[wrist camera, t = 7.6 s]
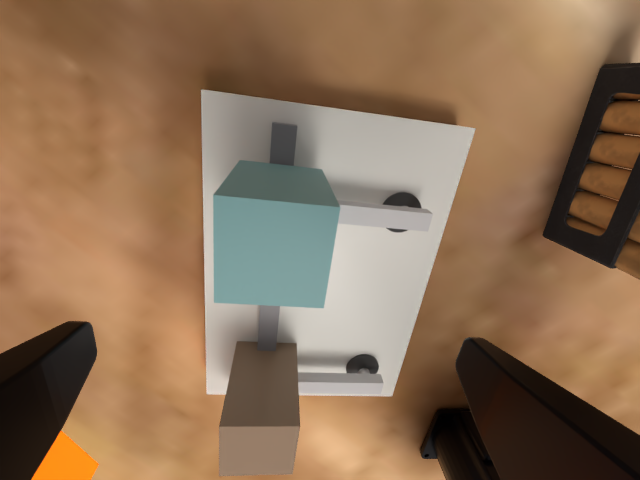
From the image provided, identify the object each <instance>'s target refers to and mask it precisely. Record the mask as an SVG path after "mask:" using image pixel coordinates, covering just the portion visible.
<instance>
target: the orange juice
mask: <svg viewBox="0 0 640 480" xmlns="http://www.w3.org/2000/svg"><path fill="white" fill-rule="evenodd" d="M98 465H99V464H98V463H97V462H95V461H94V460H93V459H92V458H91V457H90V456H89V455H88V454H87V453H85V452H84V451H83V450H82V449H81V448H80V447H79V446H78V445H76V444H75V443H74V442H73V441H72V440H71V439H70V438H69V437H68V436H66V435H65V434H64V433H63V432H62V431H60V433H59V435H58V436H57V438H56V440H55V442H54V443H53V445H52V447H51V448H50V450H49V452H48V453H47V455H46V456H45V458H44V460H43V461H42V463H41V465H40V466H39V468H38V470H37V471H36V473H35V474H34V476H33V478H32V479H31V480H91V478H92V476H93V474H94V472H95V470H96V469H97V467H98Z"/></svg>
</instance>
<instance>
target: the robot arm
mask: <svg viewBox="0 0 640 480" xmlns="http://www.w3.org/2000/svg"><path fill="white" fill-rule="evenodd" d="M96 356H97V347H96V342H95V337H94V332H93V327H92V325H91V324H90V323H89V322H83V321H68V322H65V323H63V324H61V325H59V326H57V327H55V328H53V329H51V330H49V331H47V332H45V333H43V334H40V335H38V336H36V337H34V338H32V339H30V340H28V341H26V342H24V343H22V344H20V345H18V346H16V347H13V348H11V349H9V350H7V351H5V352H3V353H1V354H0V480H31V479H32V478H33V476H34V474H35V473H36V471H37V470H38V468H39V466H40V465H41V463H42V461H43V460H44V458H45V456H46V455H47V453H48V452H49V450H50V448H51V447H52V445H53V443H54V442H55V440H56V438H57V436H58V435H59V433H60V431H61V429H62V428H63V426H64V424H65V422H66V420H67V418H68V416H69V414H70V412H71V410H72V408H73V406H74V403H75V401H76V399H77V397H78V395H79V393H80V391H81V389H82V387H83V385H84V383H85V381H86V379H87V377H88V375H89V373H90V371H91V368H92V366H93V364H94V362H95V360H96ZM456 371H457V374H458V376H459V379H460V382H461V385H462V388H463V390H464V393H465V396H466V399H467V401H468V404H469V407H470V409H440V410H438V411H437V412H436V414H435V416H434V419H433V421H432V424H431V426H430V429H429V431H428V434H427V436H426V439H425V441H424V444H423V446H422V449H421V451H420V453H421V456H422V458H423V459H438V461H439V464H440V466H441V469H442V471H443V473H444V476H445V478H446V480H640V435H638V434H637V433H635V432H634V431H632V430H630V429H629V428H627V427H626V426H624V425H622V424H621V423H619V422H617V421H616V420H614V419H613V418H611V417H609V416H608V415H606V414H605V413H603V412H601V411H600V410H598V409H596V408H595V407H593V406H592V405H590V404H588V403H587V402H585V401H584V400H582V399H580V398H579V397H577V396H575V395H574V394H572V393H571V392H569V391H567V390H566V389H564V388H563V387H561V386H559V385H558V384H556V383H555V382H553V381H551V380H550V379H548V378H546V377H545V376H543V375H542V374H540V373H538V372H537V371H535V370H534V369H532V368H530V367H529V366H527V365H525V364H524V363H522V362H521V361H519V360H517V359H516V358H514V357H513V356H511V355H509V354H508V353H506V352H505V351H503V350H501V349H500V348H498V347H496V346H495V345H493V344H492V343H490V342H488V341H487V340H485V339H483V338H475V337H468V338H466V339H465V340H464V342H463V344H462V347H461V349H460V352H459V354H458V357H457V359H456Z"/></svg>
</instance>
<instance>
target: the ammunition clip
mask: <svg viewBox="0 0 640 480" xmlns="http://www.w3.org/2000/svg"><path fill="white" fill-rule="evenodd" d="M638 100H640V63H625V64H605V65H604V66H603V67H601V68H600V70H599V73H598V76H597V79H596V82H595V85H594V88H593V90H592V93H591V96H590V99H589V102H588V105H587V108H586V111H585V114H584V117H583V120H582V122H581V125H580V128H579V131H578V134H577V137H576V140H575V143H574V146H573V149H572V152H571V154H570V157H569V160H568V163H567V166H566V169H565V172H564V175H563V178H562V181H561V184H560V186H559V189H558V192H557V195H556V198H555V201H554V204H553V207H552V210H551V213H550V216H549V218H548V221H547V224H546V227H545V230H544V233H543V236H544V237H545V238H547V239H549V240H552V241H554V242H556V243H558V244H560V245H562V246H564V247H566V248H569V249H571V250H573V251H575V252H577V253H579V254H581V255H583V256H586V257H588V258H590V259H592V260H594V261H596V262H598V263H600V264H603V265H605V266H607V267H609V268H618V269H620V270H622V271H624V272H626V273H628V274H630V275H632V276H634V277H636V278H638V279H640V137H639V136H631V135H624V134H632V135H640V101H638ZM612 165H614V166H619V167H624V168H629V169H632V170H627V169H623V168H618V167H613V166H612ZM600 195H603V196H600ZM604 196H607V197H610V198H613V199H617V200H619V201H616V200H613V199H610V198H607V197H604ZM603 228H604V229H603Z"/></svg>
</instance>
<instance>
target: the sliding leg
mask: <svg viewBox="0 0 640 480" xmlns="http://www.w3.org/2000/svg"><path fill="white" fill-rule="evenodd" d="M432 216H433V213H431V212H430V211H429V210H428V209H422V208H412V207H408V206H392V205H382V204H372V203H362V202H352V201H342V200H337V199H336V197H335V195H334V193H333V191H332V189H331V187H330V185H329V183H328V181H327V179H326V177H325V175H324V172H323V170H322V169H316V168H307V167H298V166H289V165H280V164H272V163H263V162H254V161H245V160H239V162H238V163H237V164H236V166H235V167H234V168H233V170H232V171H231V172H230V174H229V175H228V176H227V177H226V179H225V180H224V181H223V183H222V184H221V185H220V187H219V188H218V189H217V191H216V192H215V193H214V195H213V244H214V303H228V304H248V305H267V306H287V307H307V308H324V304H325V298H326V292H327V286H328V280H329V274H330V268H331V262H332V256H333V250H334V244H335V238H336V232H337V225H338V224H349V225H360V226H371V227H382V228H393V229H405V230H416V231H427V232H428V230H429V227H430V223H431V220H432Z"/></svg>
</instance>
